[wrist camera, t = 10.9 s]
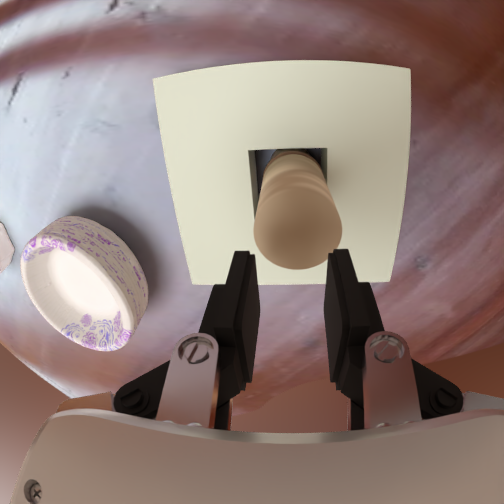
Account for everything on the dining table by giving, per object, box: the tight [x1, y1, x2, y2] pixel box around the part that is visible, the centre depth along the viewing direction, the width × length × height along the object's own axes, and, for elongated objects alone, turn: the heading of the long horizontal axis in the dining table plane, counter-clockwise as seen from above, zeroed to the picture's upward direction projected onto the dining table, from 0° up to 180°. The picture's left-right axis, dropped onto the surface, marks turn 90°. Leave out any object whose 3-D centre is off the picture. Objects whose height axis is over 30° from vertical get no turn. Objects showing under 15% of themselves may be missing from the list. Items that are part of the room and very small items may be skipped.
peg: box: [253, 148, 342, 270], centre depth 19 cm, size 4×4×12 cm
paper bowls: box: [20, 216, 148, 351], centre depth 28 cm, size 15×15×8 cm
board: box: [153, 60, 411, 285], centre depth 22 cm, size 18×18×4 cm
